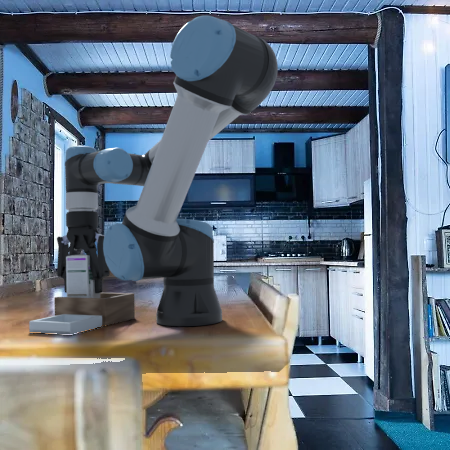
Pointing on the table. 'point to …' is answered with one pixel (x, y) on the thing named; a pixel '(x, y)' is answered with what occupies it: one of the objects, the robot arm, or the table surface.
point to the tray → (65, 324)
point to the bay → (99, 306)
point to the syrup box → (78, 276)
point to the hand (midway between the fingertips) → (83, 306)
